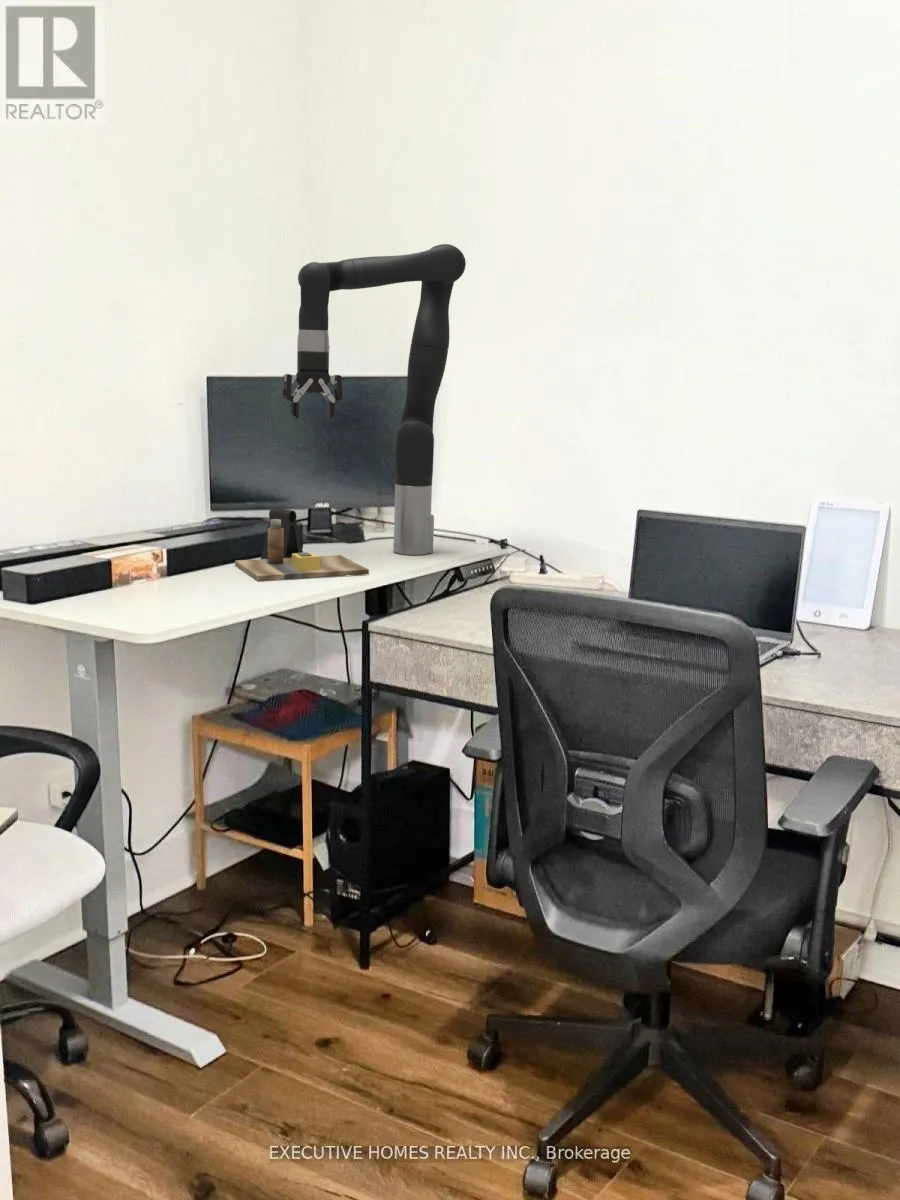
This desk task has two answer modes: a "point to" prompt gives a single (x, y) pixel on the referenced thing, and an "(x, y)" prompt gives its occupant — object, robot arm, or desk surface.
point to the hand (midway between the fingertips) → (312, 418)
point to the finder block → (305, 561)
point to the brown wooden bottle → (275, 542)
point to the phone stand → (285, 532)
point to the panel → (285, 571)
